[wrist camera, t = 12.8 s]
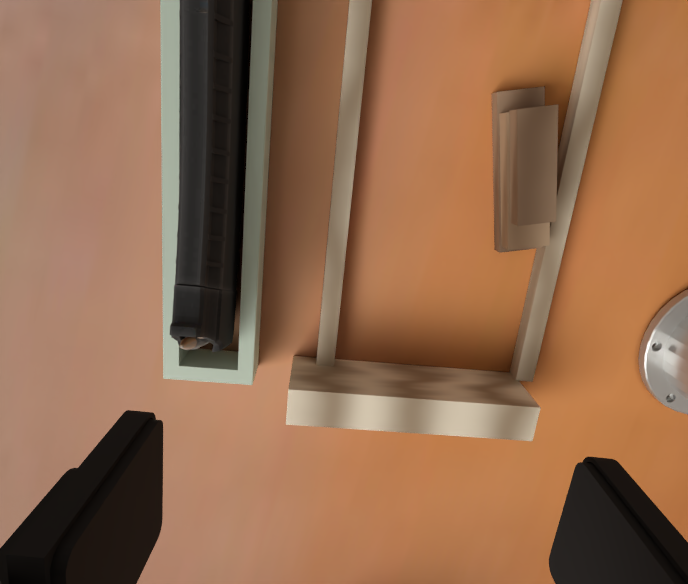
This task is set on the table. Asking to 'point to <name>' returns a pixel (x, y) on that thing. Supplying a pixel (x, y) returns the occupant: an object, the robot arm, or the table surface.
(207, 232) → the magazine
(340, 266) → the rack
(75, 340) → the table surface
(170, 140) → the display holder
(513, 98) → the offcut stack
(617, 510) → the robot arm
